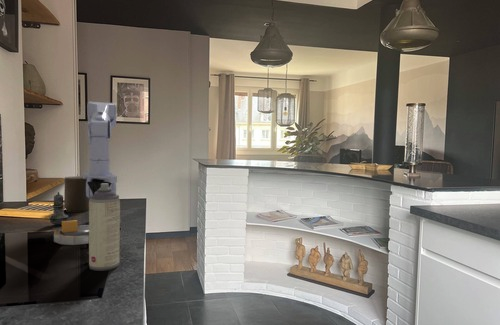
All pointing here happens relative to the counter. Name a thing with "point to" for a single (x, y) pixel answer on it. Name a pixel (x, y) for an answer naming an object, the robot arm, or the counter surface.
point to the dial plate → (70, 238)
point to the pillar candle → (76, 194)
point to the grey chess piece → (58, 211)
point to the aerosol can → (104, 229)
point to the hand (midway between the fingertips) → (99, 203)
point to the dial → (74, 228)
